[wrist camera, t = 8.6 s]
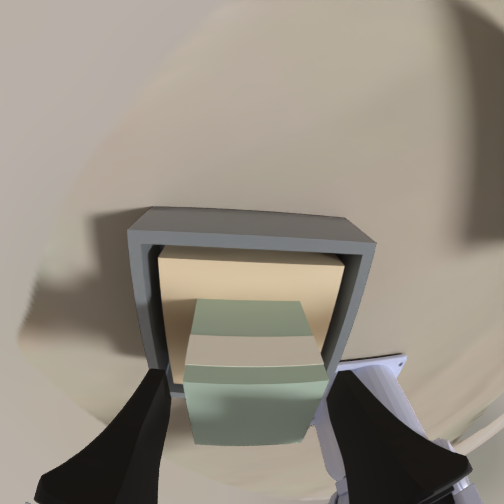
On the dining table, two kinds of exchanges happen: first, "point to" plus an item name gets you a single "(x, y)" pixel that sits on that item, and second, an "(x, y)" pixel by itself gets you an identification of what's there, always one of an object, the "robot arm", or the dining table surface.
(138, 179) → the dining table surface
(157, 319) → the gray square tray
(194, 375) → the green banded cube
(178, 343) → the tan wooden block
